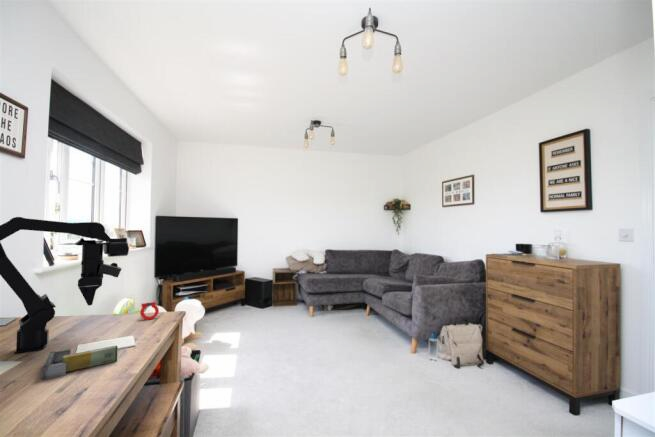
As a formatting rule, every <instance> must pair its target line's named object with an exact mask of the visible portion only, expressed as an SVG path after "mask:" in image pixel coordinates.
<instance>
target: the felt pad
mask: <svg viewBox="0 0 655 437" xmlns="http://www.w3.org/2000/svg"><path fill="white" fill-rule="evenodd" d="M111 346H118V350H123V349H127V348H132V347H136V341H135V336H134V335H128V336H123V337H116V338H111V339H105V340H100V341H93V342H88V343H81V344H78V345H77V348H76V351H75V353H80V352H85V351H90V350H95V349H100V348H106V347H111Z"/></svg>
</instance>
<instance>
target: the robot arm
mask: <svg viewBox="0 0 655 437" xmlns="http://www.w3.org/2000/svg"><path fill="white" fill-rule="evenodd" d="M21 230H22V231H23V230H24V231H35V232H49V233H58V234H60V233H61V234H70V235H75V236H79V237H81V238H80V239H79V240H78V241H76V242H75V243H74V245H76V246H81V251H82V252H81V261H80V265H81V272H80V278H79V279H78V280H77V287H78V289H79V291H80V293H81V294H82V296H83V298H84V301H85V303H86V304H87V306H88V307H89V306H93V304H94V300H95V295H96V291H97V290H98V289H99V288H100V287H102V285H103V278H104V275H108V276H111V277H113V278H118V277H119V275H120V273H121V271H122V267H120V266H118V263H116V262H112V263H110V264H107V263H105V262H104V259H103V258H104V257H103V256H104V254H105V255H107V257H109V258H110V257H111V258H112V257H126V256H127V257H128V255H129V251H130V246H129V244H128V239H127V237H120V238H111V237H110V236H109V234H108V233H107V232H106V227H105V226H104V225H103V224H102V223H101V222H97V221H94V222H93V221H91V222H89V221H87V222H86V221H85V222H64V221H55V220H46V219H45V220H44V219H36V218H25V217H23V216H22V217H21V216H16V217H12V218H11V219H9V221H6V222H4V223H3V224H0V276H1V278H2V279H3V280H4V281H5V282H6V283H7V285H8V286H9V287H10V289H11V290H12V291H13V293H14V294H16V296H17V298H18V299H19V300H20V301H21V303H22V304H23V307H24V309H25V311H26V313H27V314H25V315H24V316H23V317H22V318H20V319H19V320H18V326H19V329H18V330H16V342H15V344H16V345H15V346H16V347H15V350H14V352H13V353H14V354H20V353H27V352H32V351H38V350H43V349H45V348H46V346H47V345H48V344H49V341H50V340H49V339H50V329H49V328H48V325H47V324H48V323H49V322H50V321H52V320H53V319H54V317H55V316H56V310H55V308H56V307H57V306H56V305H55V303H54V302H52V301H51V300H50V298H49V296H48V295H47V294H46V293H44V294H43V295H39V294H38V293H37V292H36V291H35V290H34V289H33V287H32V286H31V285H30V284H29V283H28V281H27V280H26V279H25V277H24V276H23V275H22V274H21V272H20V271H19V270H18V268H17V267H16V266H15V264H13V262H12V261H11V259H9V257H8V256H7V253H6V250H5V249H4V247H3V245H2V243H1V241H3V240H4V239H6V238H8V237H10V236H12V235H13V234H15V233H17V232H19V231H21ZM84 238H89V239H84ZM90 239H91V240H90ZM95 239H96V240H98V241H100V242H97V241H96V240H95Z"/></svg>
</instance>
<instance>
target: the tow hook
mask: <svg viewBox="0 0 655 437" xmlns="http://www.w3.org/2000/svg"><path fill="white" fill-rule="evenodd" d="M156 304H157V302H156V301H152V302H151V301H149V302H143V303H141V306H140V307H141V309H140V312H139V314H140V316H141V318H142V319H144V320H147V321H149V320H154V319H155V318H157V316H158V314H159V312H160V311H159V310H160V309H159V307H158V305H156ZM149 307H151V308H152V309H154V311H155V312H154V314H153V315H151V316H147V315H146V314H145V312H146V311H147V309H148V308H149Z"/></svg>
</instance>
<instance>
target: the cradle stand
mask: <svg viewBox="0 0 655 437" xmlns="http://www.w3.org/2000/svg"><path fill="white" fill-rule="evenodd" d="M70 354H72V348H66V349H61V350H60V349H59V350H55V351H50V352H49V354H48V356H47V359H46V361H45V362H44V365H43V367H42V379H41V380H43V381H44V380H47V379H53V378H58V377H63V376H66V375H67V372H66V364H67V362H63V356H65V355H70Z"/></svg>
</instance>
